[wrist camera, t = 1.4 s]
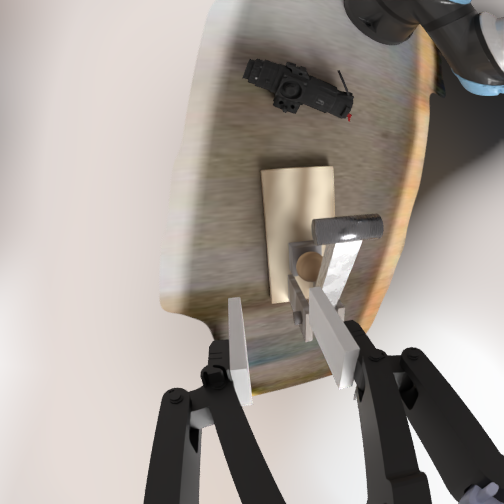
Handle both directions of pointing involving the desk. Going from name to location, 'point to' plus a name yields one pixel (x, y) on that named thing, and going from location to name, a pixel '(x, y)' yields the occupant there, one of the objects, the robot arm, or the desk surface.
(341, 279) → the lever
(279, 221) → the press base
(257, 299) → the desk surface
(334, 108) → the night vision scope
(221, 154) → the desk surface
